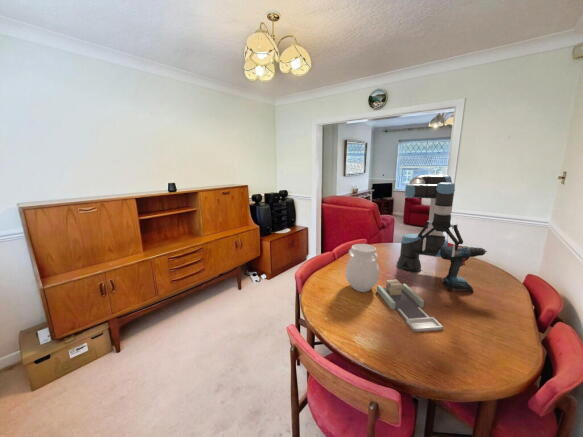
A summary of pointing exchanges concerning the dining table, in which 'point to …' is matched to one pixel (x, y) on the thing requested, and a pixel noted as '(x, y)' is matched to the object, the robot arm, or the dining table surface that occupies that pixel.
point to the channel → (404, 287)
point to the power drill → (458, 266)
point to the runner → (407, 306)
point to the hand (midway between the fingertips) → (437, 253)
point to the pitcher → (362, 267)
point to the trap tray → (424, 324)
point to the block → (393, 287)
